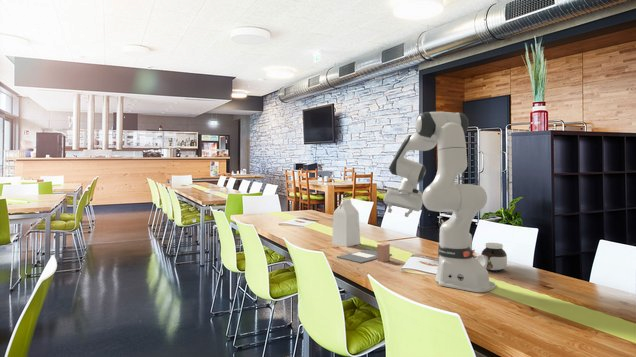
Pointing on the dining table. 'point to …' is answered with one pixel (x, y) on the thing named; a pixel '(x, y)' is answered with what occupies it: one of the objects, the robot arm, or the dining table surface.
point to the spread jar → (493, 257)
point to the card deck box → (383, 252)
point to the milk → (346, 225)
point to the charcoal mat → (360, 256)
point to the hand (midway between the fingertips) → (397, 214)
